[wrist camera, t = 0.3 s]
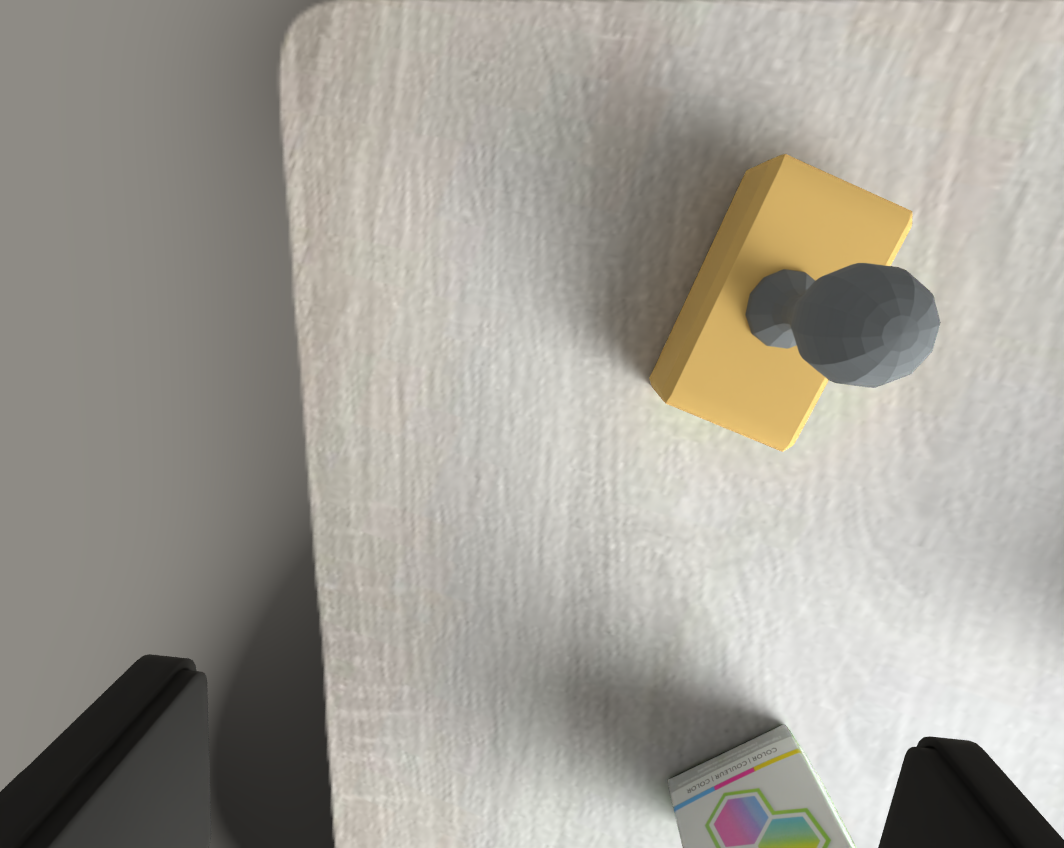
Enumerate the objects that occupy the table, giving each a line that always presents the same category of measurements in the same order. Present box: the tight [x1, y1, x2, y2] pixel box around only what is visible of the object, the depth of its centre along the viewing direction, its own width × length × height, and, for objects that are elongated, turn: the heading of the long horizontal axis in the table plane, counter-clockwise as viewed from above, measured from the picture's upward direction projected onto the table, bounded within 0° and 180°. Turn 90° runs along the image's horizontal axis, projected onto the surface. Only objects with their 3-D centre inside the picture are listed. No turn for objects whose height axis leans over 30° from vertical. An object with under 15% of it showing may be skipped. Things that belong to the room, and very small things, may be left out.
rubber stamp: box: [649, 154, 940, 452], centre depth 22 cm, size 10×6×12 cm, turn 158°
